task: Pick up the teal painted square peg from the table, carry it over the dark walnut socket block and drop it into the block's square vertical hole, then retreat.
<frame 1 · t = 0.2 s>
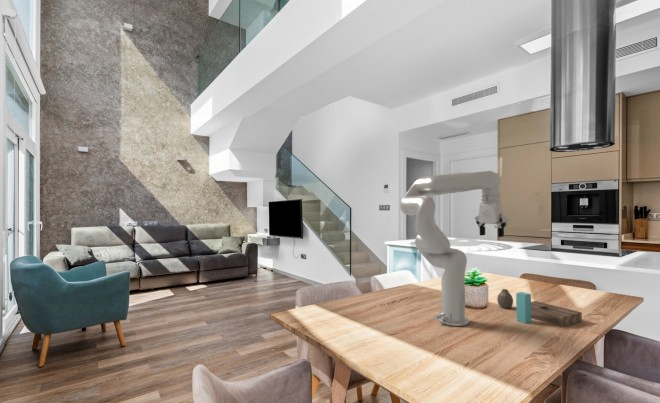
hand: (491, 235, 159), 36 cm above the table, tool pointing down, fingers open, 9 cm apart
peg: (523, 321, 148), on the table
socket block: (548, 317, 153), on the table
vase: (505, 307, 168), on the table
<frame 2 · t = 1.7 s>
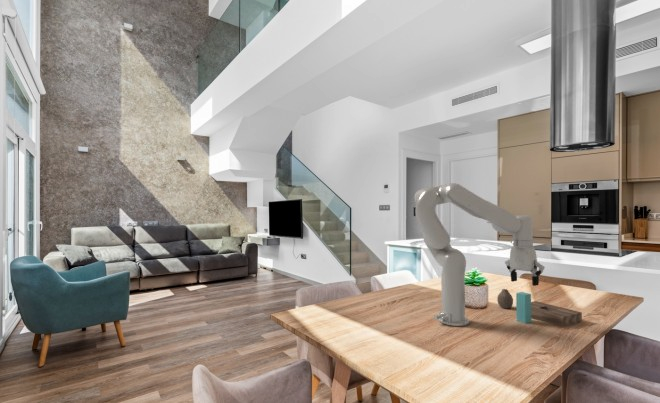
hand: (524, 283, 148), 16 cm above the table, tool pointing down, fingers open, 9 cm apart
nothing on the table moved.
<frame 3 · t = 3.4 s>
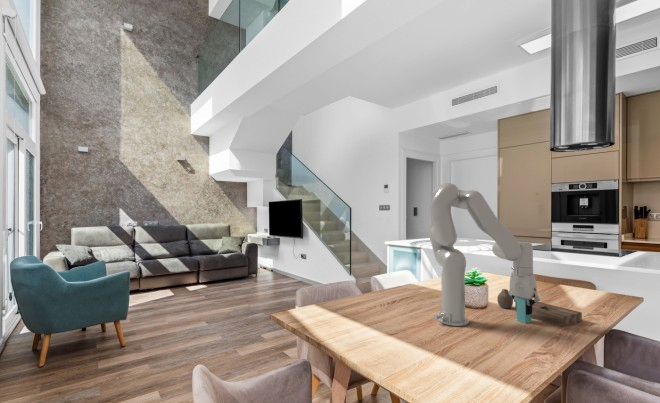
hand: (523, 312, 148), 4 cm above the table, tool pointing down, fingers closed on peg, 4 cm apart
peg: (523, 321, 148), on the table, touching gripper
everything else where it was.
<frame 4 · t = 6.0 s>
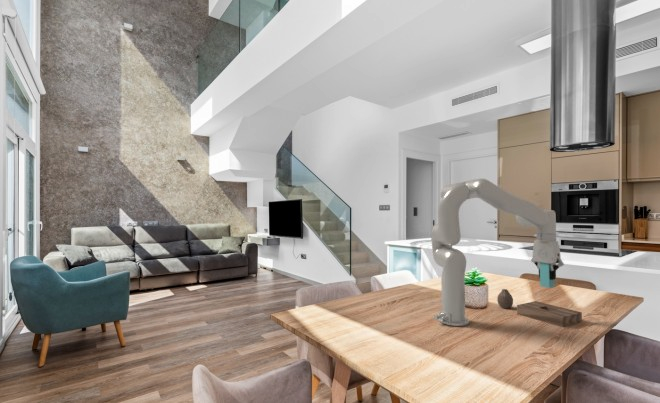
hand: (547, 278, 153), 18 cm above the table, tool pointing down, fingers closed on peg, 4 cm apart
peg: (547, 286, 153), point 14 cm above the table, touching gripper
everything else where it was.
when the fingers open (6 cm above the table, at t = 8.9 s): peg drops 2 cm, resting in socket block.
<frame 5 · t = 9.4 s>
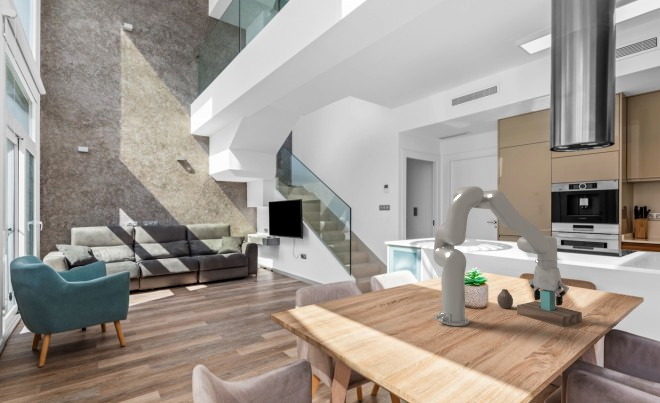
hand: (548, 302, 153), 7 cm above the table, tool pointing down, fingers open, 9 cm apart
peg: (548, 317, 153), resting in socket block
everything else where it was.
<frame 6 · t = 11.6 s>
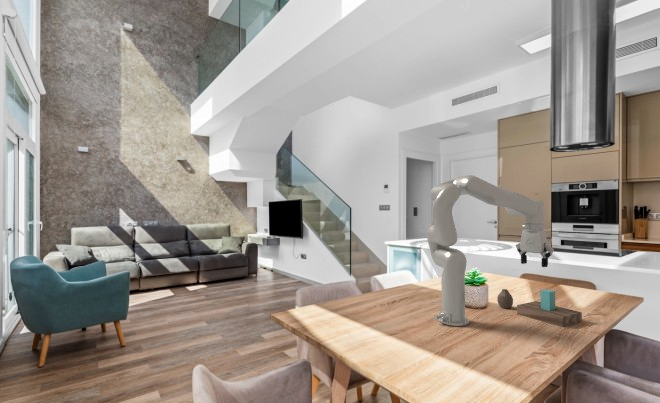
hand: (533, 265, 155), 23 cm above the table, tool pointing down, fingers open, 9 cm apart
nothing on the table moved.
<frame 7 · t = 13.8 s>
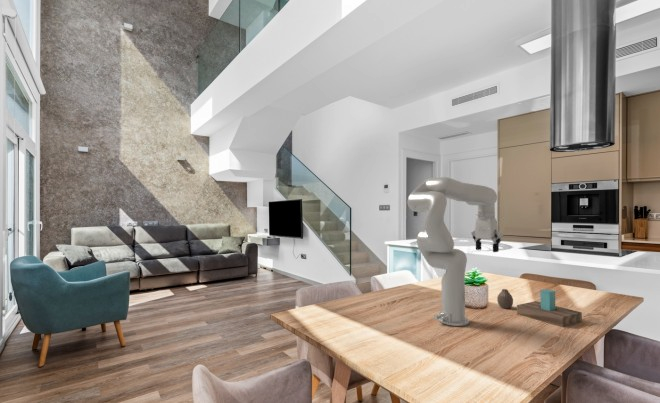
hand: (486, 250, 166), 28 cm above the table, tool pointing down, fingers open, 9 cm apart
nothing on the table moved.
at the end: peg 0.0 cm off-centre on the socket block, point 0.0 cm above the socket block's base; peg tilted 0°; the gripper is holding nothing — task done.
